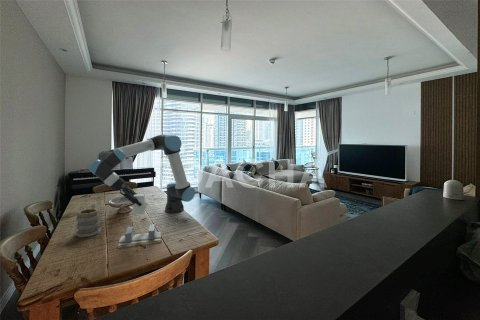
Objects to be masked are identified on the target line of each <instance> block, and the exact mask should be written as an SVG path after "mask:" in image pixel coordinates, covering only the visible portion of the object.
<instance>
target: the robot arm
mask: <svg viewBox="0 0 480 320" xmlns="http://www.w3.org/2000/svg"><path fill="white" fill-rule="evenodd" d="M182 144H183V143H182V140H181V138H180V136H177V134H172V133H171V134H169V133H167V134H166V133H165V134H159V135H158V134H157V135H155V136H152V137H148V138H147V139H146V140H143V141H139V142H136V143H132V144H128V145H124V146H119V147H116V148H113V149H109V150H101V151H99V152H98V153H97V154H96V160H94V161H93V162H92V163H91V164H90V165H89V166H88V170H89V171H90V172H91V173H92V174H93V175H94V176H96V177H97V178H98V179H99V180H101V181H102V182H103V183H104V185H107V186H109V187H110V189H112V190H113V191H115V192H116V191H117V190H119V194H121V195H122V196H123V197H125V198H126V199H127V200H128V201H129V202H131V203H132V205H133V204H136V205H138V206H139V207H140V208H141V209H143V210H145V211H146V210H147V208H148V205H149V204H148V202H146V201H145V204H143V203H142V202H141V201H140V200H138V199H136V198H135V197H134V195H135V194H138V193H137V192H136V191H134V190H133V189H132V188H131V187H130V186H128V185H125V182H126V181H125V180H124V179H123V178H122V177H120V176H119V174H117V173H116V172H115V171H113V170H114V169H115V168H116V167H117V166H118V165H119V164H121V163H122V162H123V161H124V160H125V159H126V158H128V157H132V156H135V155H138V154H142V153H146V152H149V151H151V152H154V151H157V150H158V151H159V150H161V151H163V153H164V155H165V156H167V159H168V161H169V165H170V168H171V172H172V174H173V175H172V176H173V178H174V182H169V183H167V185H166V203H165V207H164V212H166V213H168V214H169V213H170V214H175V213H176V212H177V213H180V212H179V211H181V212H183V211H184V209H185V207H184V204H183V202H186V203H187V202H190V201H192V200H193V199H194V197H195V196H196V190H195V188H194V187H193V186H192V187H191V183H190V182H189V181H188V179H187V176H186V172H185V169H184V166H183V162H182V159H181V158H182V157H181V155H180V152H181V148H182ZM182 210H183V211H182Z"/></svg>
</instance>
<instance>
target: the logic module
mask: <svg viewBox="0 0 480 320" xmlns="http://www.w3.org/2000/svg"><path fill="white" fill-rule="evenodd" d="M134 197H135V198H136V199H138V200H140V201H141V202H142V203H143V204H145V202H146V198H145V197H146V193H137V194H135V195H134ZM132 206H133V207H132V211H133V215H143V214H144V215H145V213H146V209H145V210H143V209H141V208H140V207H139V206H138V205H136V204H133V203H132Z"/></svg>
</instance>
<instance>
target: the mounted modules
mask: <svg viewBox="0 0 480 320" xmlns="http://www.w3.org/2000/svg"><path fill="white" fill-rule="evenodd" d="M155 232H156V224H155V223H152V224H149V226H148V233H149V239H154V238H155ZM133 235H135V234H134V226H127V229H126V230H125V233H124V236H125V243H126V242H131V241H132V238H133Z"/></svg>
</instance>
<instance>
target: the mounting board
mask: <svg viewBox="0 0 480 320" xmlns="http://www.w3.org/2000/svg"><path fill="white" fill-rule="evenodd" d="M161 242H162V231H155V238H154V239H149V232H144V233H137V234H134V235H133V238H132V241H131V242H126V243H125V235H122V236H120V239H118V245H117V248H118V249H121V248H127V247H136V246H143V245H144V246H145V245H151V244H152V245H153V244H158V243H161Z"/></svg>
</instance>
